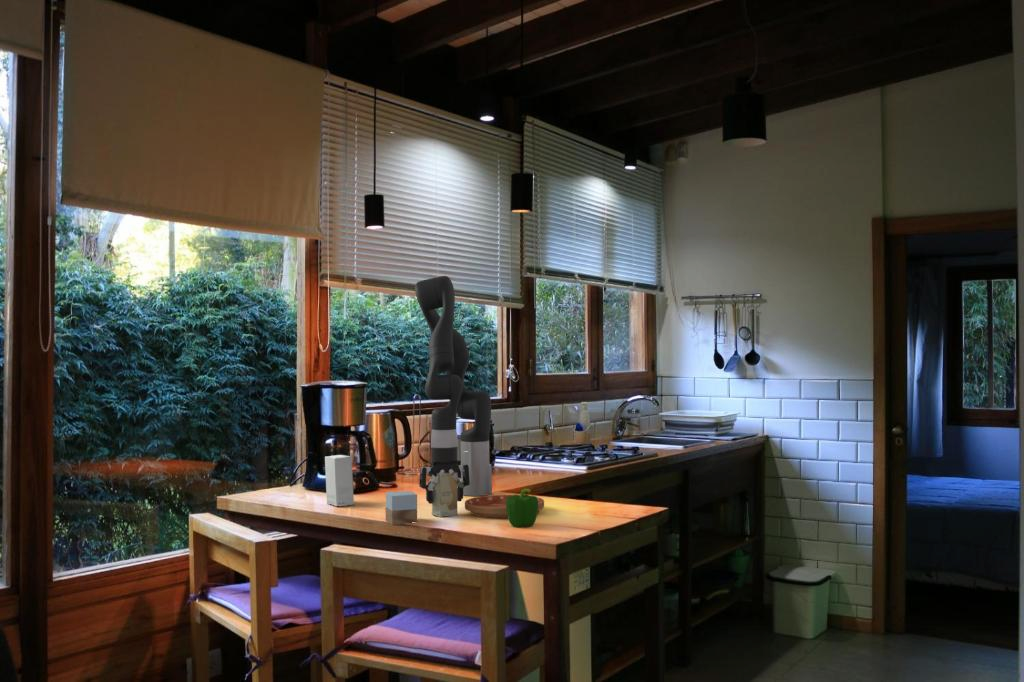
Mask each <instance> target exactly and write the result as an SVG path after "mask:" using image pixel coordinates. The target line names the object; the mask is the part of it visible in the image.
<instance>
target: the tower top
mask: <svg viewBox="0 0 1024 682" xmlns="http://www.w3.org/2000/svg"><path fill="white" fill-rule="evenodd" d="M385 507H387V508H388V509H390V510H391V511H399V510H412V509H417V510H418V494H417V493H415V492H414V491H411V490H401V491H386V492H385Z"/></svg>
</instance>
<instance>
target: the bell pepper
mask: <svg viewBox="0 0 1024 682" xmlns="http://www.w3.org/2000/svg"><path fill="white" fill-rule="evenodd" d="M531 491H532V489H529V488H524V489H522V490H521V492H520V494H518V493H517V494H512V495H513V496H511V497H508V498H507V500H506V510H507V515H508V518H507V519H508V523H509V524H510V526H512V527H517V528H522V527H524V526H527V527H533V526H534V524H535V523H536V520H537V515H538V512H539V511H538V499H537V497H538V496H534V495H530V493H531ZM527 493H528V494H527ZM519 495H520V496H519ZM537 511H538V512H537ZM521 526H522V527H521Z"/></svg>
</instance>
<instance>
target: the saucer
mask: <svg viewBox="0 0 1024 682" xmlns="http://www.w3.org/2000/svg"><path fill="white" fill-rule="evenodd" d="M513 495H514V494H495V495H494V494H493V495H492V494H489V495H482V496H474V497H472V498H467V499H466V500H465V501H464V509H465V510H467V511H468V512H470V513H471V514H472V515H474V516H477V517H481V518H491V519H508V515H507V510H506V500H507V498H508V497H511V496H513ZM518 495H519V496H520V494H518ZM536 497H537V499H538V511H537V513H538V512H539V511H540V510H542V509H544V508H545V500H544V498H541V497H538V496H536Z"/></svg>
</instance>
